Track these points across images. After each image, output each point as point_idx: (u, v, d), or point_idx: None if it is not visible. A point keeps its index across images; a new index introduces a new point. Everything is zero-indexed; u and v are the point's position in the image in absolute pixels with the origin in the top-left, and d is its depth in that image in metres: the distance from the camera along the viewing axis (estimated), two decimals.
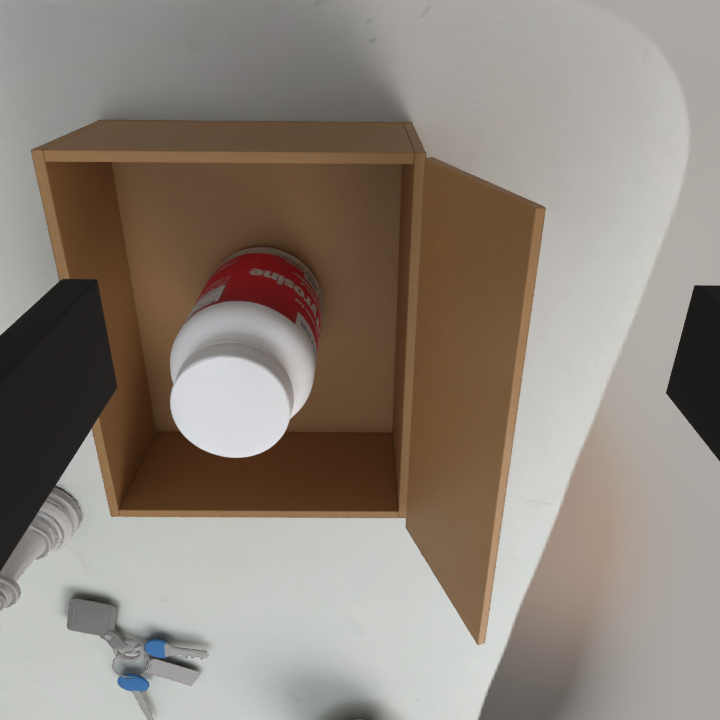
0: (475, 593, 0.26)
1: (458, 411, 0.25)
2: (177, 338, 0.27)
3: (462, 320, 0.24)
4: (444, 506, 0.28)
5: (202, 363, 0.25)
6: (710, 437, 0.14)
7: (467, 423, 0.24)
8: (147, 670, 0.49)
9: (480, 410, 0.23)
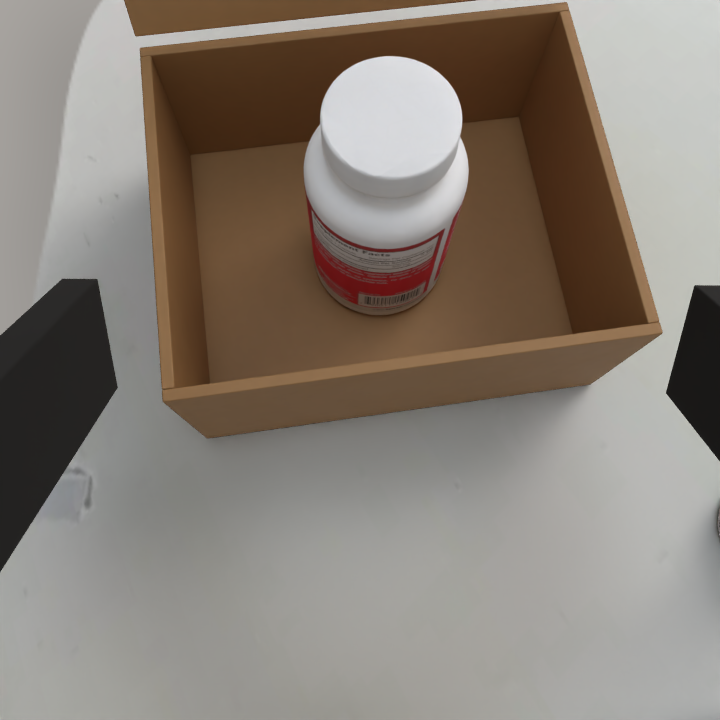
0: None
1: None
2: (352, 231, 0.23)
3: None
4: None
5: (333, 145, 0.21)
6: (709, 437, 0.14)
7: None
8: None
9: None
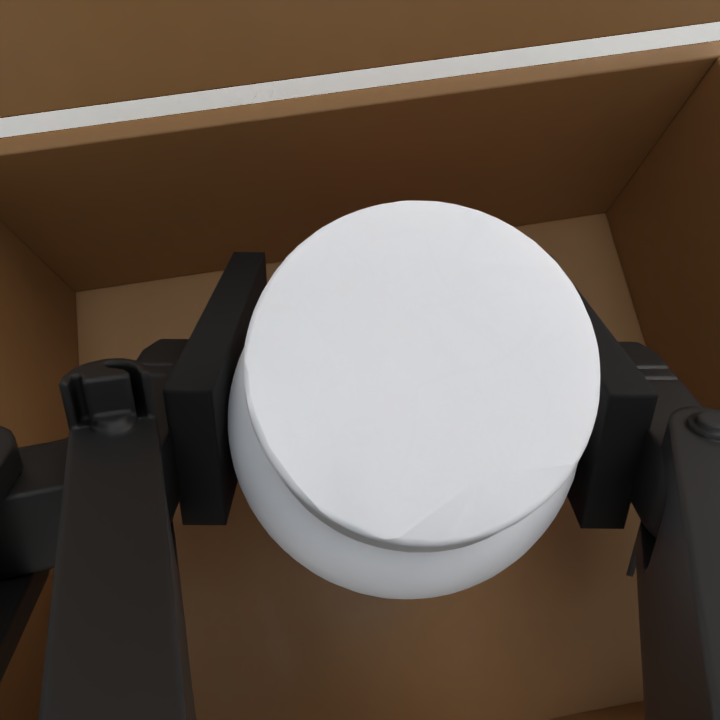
0: None
1: None
2: (332, 579, 0.10)
3: None
4: None
5: (275, 451, 0.08)
6: None
7: None
8: None
9: None
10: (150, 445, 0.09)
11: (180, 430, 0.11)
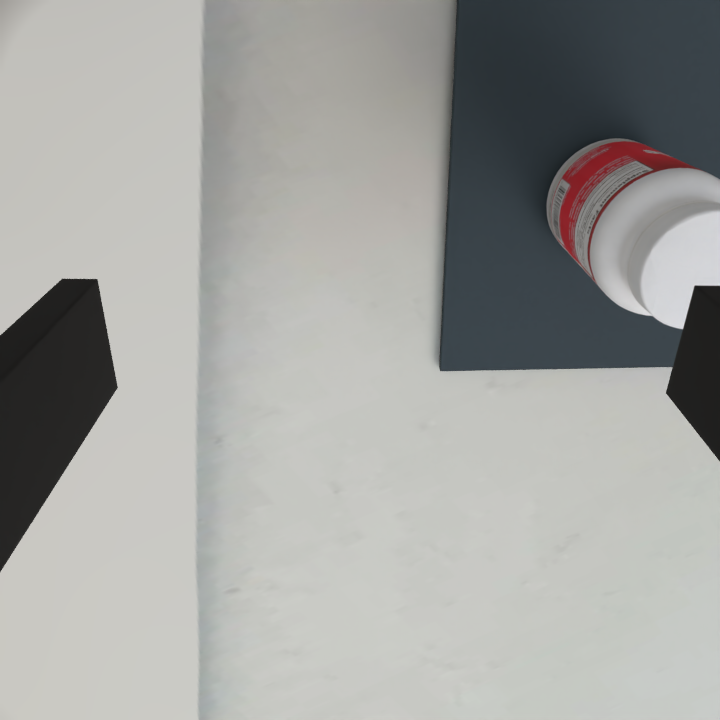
0: None
1: None
2: (616, 209, 0.26)
3: None
4: None
5: (692, 219, 0.23)
6: (710, 438, 0.14)
7: None
8: None
9: None
10: None
11: None
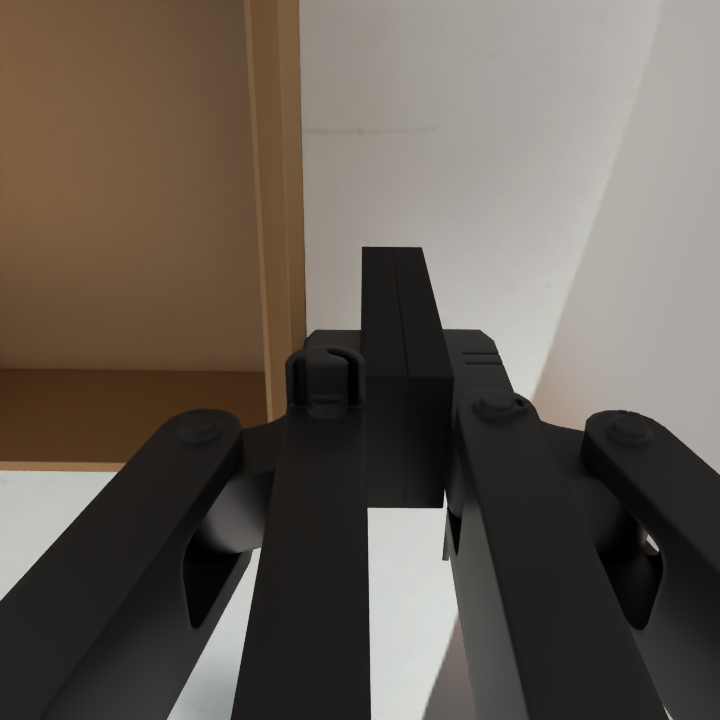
0: None
1: (275, 291, 0.16)
2: None
3: (267, 133, 0.15)
4: None
5: None
6: None
7: (278, 306, 0.16)
8: None
9: (280, 277, 0.14)
10: (358, 434, 0.09)
11: (373, 415, 0.11)
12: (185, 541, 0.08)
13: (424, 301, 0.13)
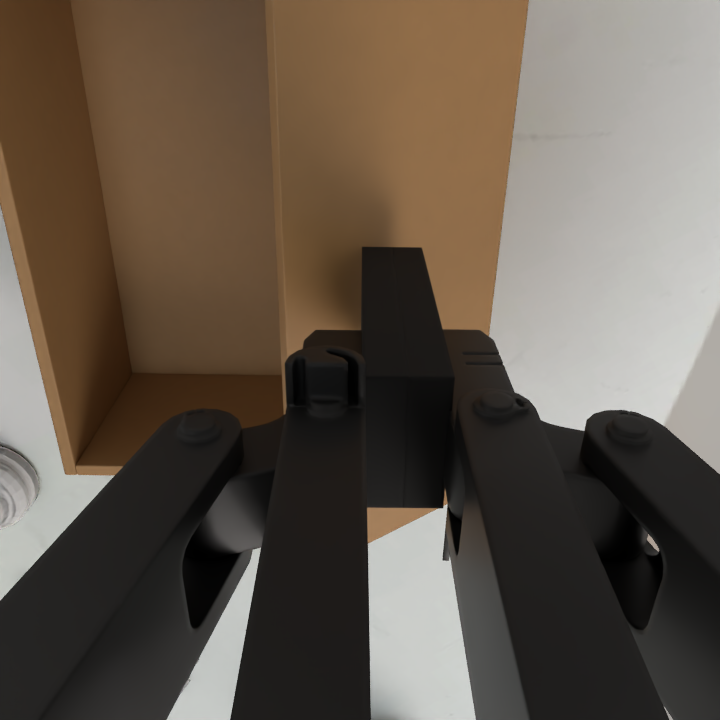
0: None
1: None
2: None
3: None
4: None
5: None
6: None
7: None
8: None
9: None
10: (358, 434, 0.09)
11: (373, 415, 0.11)
12: (184, 541, 0.08)
13: (424, 301, 0.13)
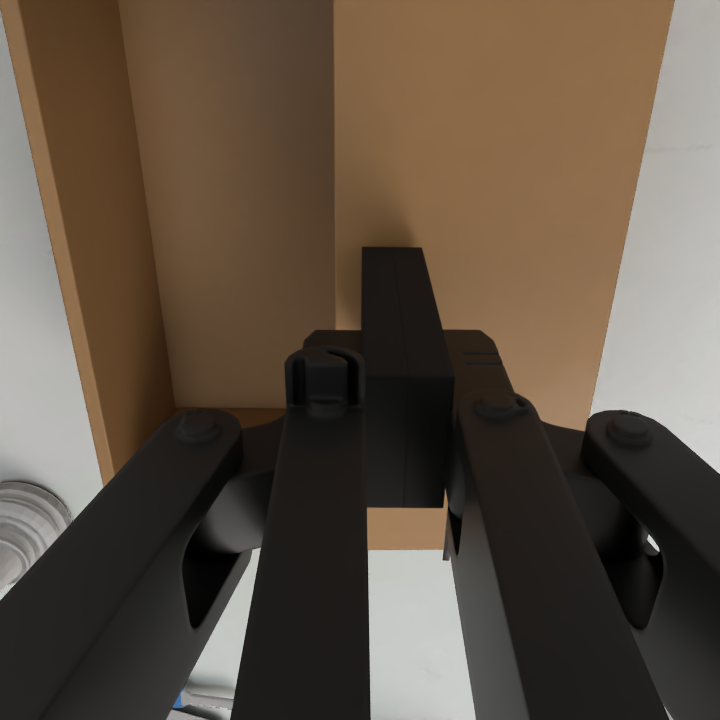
0: None
1: None
2: None
3: None
4: None
5: None
6: None
7: None
8: None
9: None
10: (358, 434, 0.09)
11: (373, 415, 0.11)
12: (184, 542, 0.08)
13: (424, 301, 0.13)
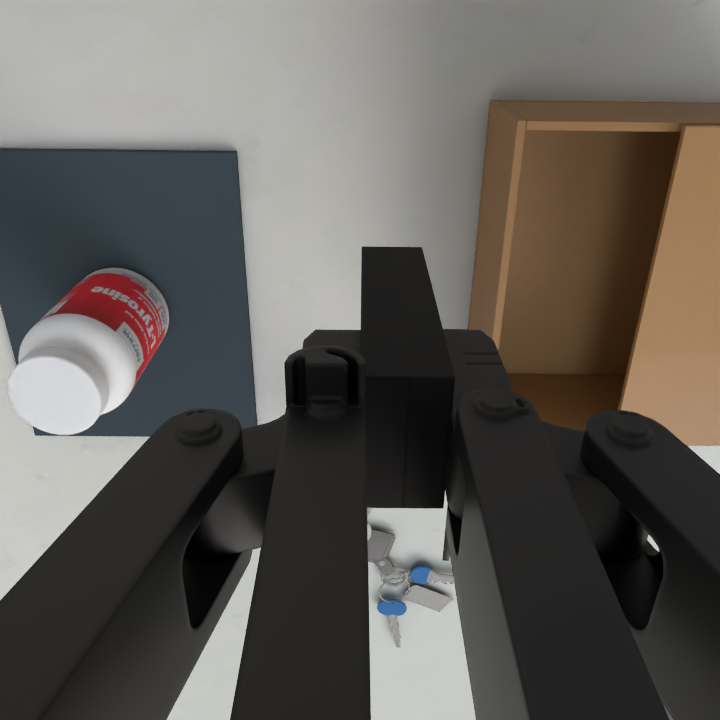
0: None
1: None
2: (22, 342, 0.35)
3: None
4: None
5: (28, 361, 0.33)
6: None
7: None
8: (406, 596, 0.55)
9: None
10: (358, 434, 0.09)
11: (373, 415, 0.11)
12: (184, 541, 0.08)
13: (424, 301, 0.13)
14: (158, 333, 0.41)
